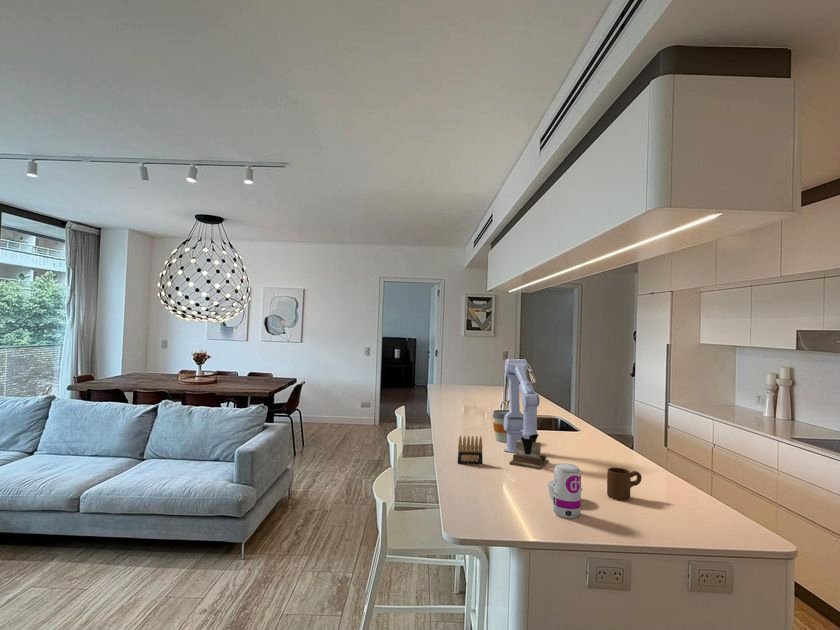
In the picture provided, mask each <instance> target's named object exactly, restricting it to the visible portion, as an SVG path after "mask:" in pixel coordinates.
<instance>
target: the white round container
mask: <svg viewBox="0 0 840 630" xmlns="http://www.w3.org/2000/svg"><path fill="white" fill-rule="evenodd" d="M547 487H548V493H549V498H550V499H551V500H552V502H554V479H553V480H550V481H548V483H547ZM582 491H583V487H582V485H581V492H582Z"/></svg>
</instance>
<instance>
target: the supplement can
mask: <svg viewBox="0 0 840 630" xmlns="http://www.w3.org/2000/svg"><path fill="white" fill-rule="evenodd" d="M581 471H582V470H580V467H579V466H578V465H576V464H572V463H563V462H562V463H558V464H555V467H554V469H553V480H554V501H553V505H552V507H553V512H554V513H555V515H556V516H557V517H560V518H564V519H569V518H570V519H571V520H572V518H573V519H577V518H578V517H579V516H580V515H581V514H582V513H581V510H582V509H581V508H582V507H581V505H582V501H581V500H582V496H581V495H582V491H581V486H582V472H581ZM570 519H569V520H570Z"/></svg>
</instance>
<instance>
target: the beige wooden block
mask: <svg viewBox="0 0 840 630" xmlns="http://www.w3.org/2000/svg"><path fill="white" fill-rule="evenodd" d="M541 446H542V443H541V442H537V441H536V442H533V444H532V449H531V454H530V455H528V454H525V451H524V445H523V443H522V441H519V440H518V441H517V442H516V453H515V454H517V455H523V456H530V457H536V458H540V454H542V453H541V450H542V449H541Z"/></svg>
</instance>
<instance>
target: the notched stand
mask: <svg viewBox="0 0 840 630" xmlns="http://www.w3.org/2000/svg"><path fill="white" fill-rule="evenodd" d="M549 462H550V460H549V459H547V455H545V454H542V453H540V458H536V457H530V456H523V455H517V454H516V453H514V454H513V455H512V460H510V461H509V465H511V466H516V465H517V467H523V468H527V467H528V469H533V468H534V470H541V468H543V467H544V466H546V465H547V464H549ZM545 464H546V465H545Z"/></svg>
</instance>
